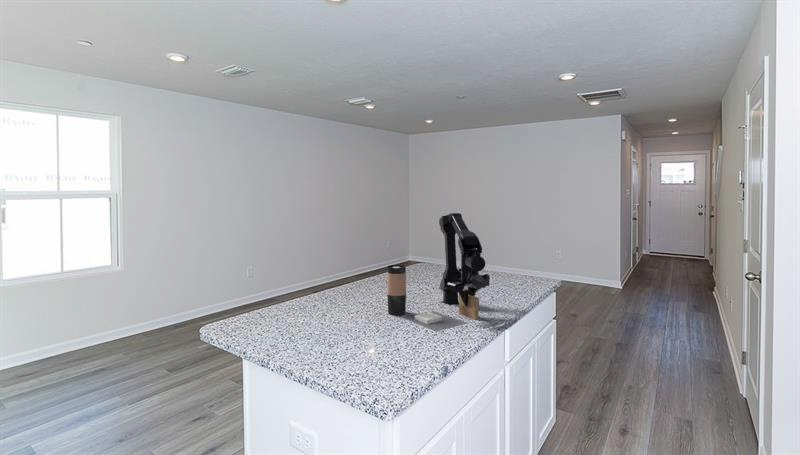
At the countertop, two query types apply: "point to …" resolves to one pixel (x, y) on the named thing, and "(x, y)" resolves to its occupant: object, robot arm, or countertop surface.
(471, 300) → the flat wooden plank
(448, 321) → the mat
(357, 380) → the countertop surface
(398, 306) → the travel mug
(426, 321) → the tile
